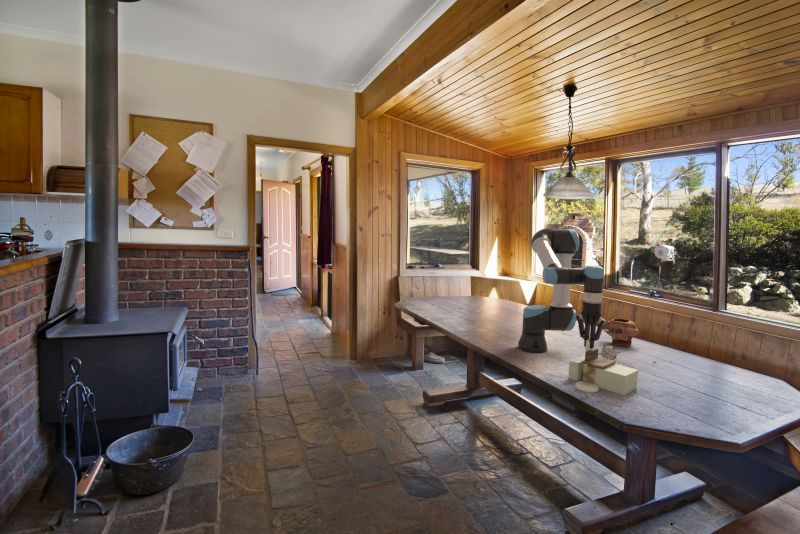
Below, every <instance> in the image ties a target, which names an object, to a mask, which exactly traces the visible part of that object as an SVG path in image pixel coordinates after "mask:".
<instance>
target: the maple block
mask: <svg viewBox="0 0 800 534" xmlns="http://www.w3.org/2000/svg"><path fill="white" fill-rule="evenodd" d="M596 368H597V367H593V366H590V365H586V364H584V367H583V378H582V381H583V382H590V383H593V384H595V380H596Z"/></svg>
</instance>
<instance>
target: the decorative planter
mask: <svg viewBox="0 0 800 534" xmlns="http://www.w3.org/2000/svg"><path fill="white" fill-rule="evenodd" d="M605 325H607V326H608V330H606V329H605V328H604V327H603V329H602V331H604V332H605V333H606V335H608V336H610V337H611V340H612V342H611V344H612V345H613V344H614V345H618V346H622V347H623V346H624V347H625V346H626V347H628V346H629V347H630V346H631V345H632V343H633V342H632V341H633V340H632V339H633V337H636V336H637V335H639V333H640V330H639V329H638V328H637V324H636V323H635V322H634V321H632V320H629V319H623V318H613V319H611V320H607V322H606V323H605V324H604V326H605Z"/></svg>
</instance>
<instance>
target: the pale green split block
mask: <svg viewBox="0 0 800 534" xmlns="http://www.w3.org/2000/svg"><path fill="white" fill-rule="evenodd" d="M584 360H585V355H581V356H579V357H576V358H573V359H570V360H569V367H568V376H567V377H568V379H570V380H573V381H576V382H579V381H580V380H583V367H584V364H582V361H584ZM638 377H639V369H636V368H632V367H629V366H625V365H621V364H617V363H615V364H613V365H611V366H608V367H606V368H604V369H601V368H596V380H595V384H596V385H597V386H599V389H602V390H605V391H609V392H613V393H615V394H619V395H622V396H626V395H628V394H629V393H631V392H633V391H634V390H637V387H638Z"/></svg>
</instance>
